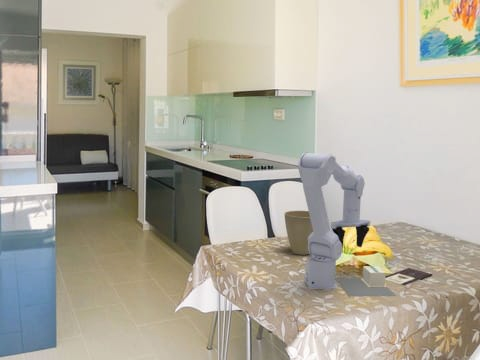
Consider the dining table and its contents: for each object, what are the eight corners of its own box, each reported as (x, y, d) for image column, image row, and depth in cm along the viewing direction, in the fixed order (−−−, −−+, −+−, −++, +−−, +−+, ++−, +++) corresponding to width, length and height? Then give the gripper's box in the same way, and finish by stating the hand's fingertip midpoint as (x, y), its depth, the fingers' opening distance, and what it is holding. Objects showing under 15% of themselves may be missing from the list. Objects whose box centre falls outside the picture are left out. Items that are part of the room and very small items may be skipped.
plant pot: (327, 255, 194) (329, 215, 192) (296, 259, 188) (297, 218, 186) (306, 246, 208) (308, 209, 206) (276, 249, 201) (277, 211, 199)
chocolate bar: (432, 274, 171) (404, 284, 159) (432, 276, 171) (404, 287, 160) (408, 267, 178) (380, 277, 166) (408, 270, 178) (380, 280, 166)
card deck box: (362, 279, 165) (363, 266, 164) (377, 279, 165) (377, 265, 164) (369, 286, 158) (370, 272, 157) (384, 286, 158) (385, 272, 157)
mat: (348, 297, 149) (348, 296, 148) (333, 279, 165) (333, 277, 165) (396, 297, 150) (396, 295, 150) (376, 278, 167) (376, 277, 167)
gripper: (339, 212, 163) (337, 251, 164) (376, 210, 168) (374, 248, 169) (328, 208, 169) (327, 246, 171) (364, 206, 174) (362, 243, 176)
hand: (349, 247), depth 171 cm, fingers open, 7 cm apart
